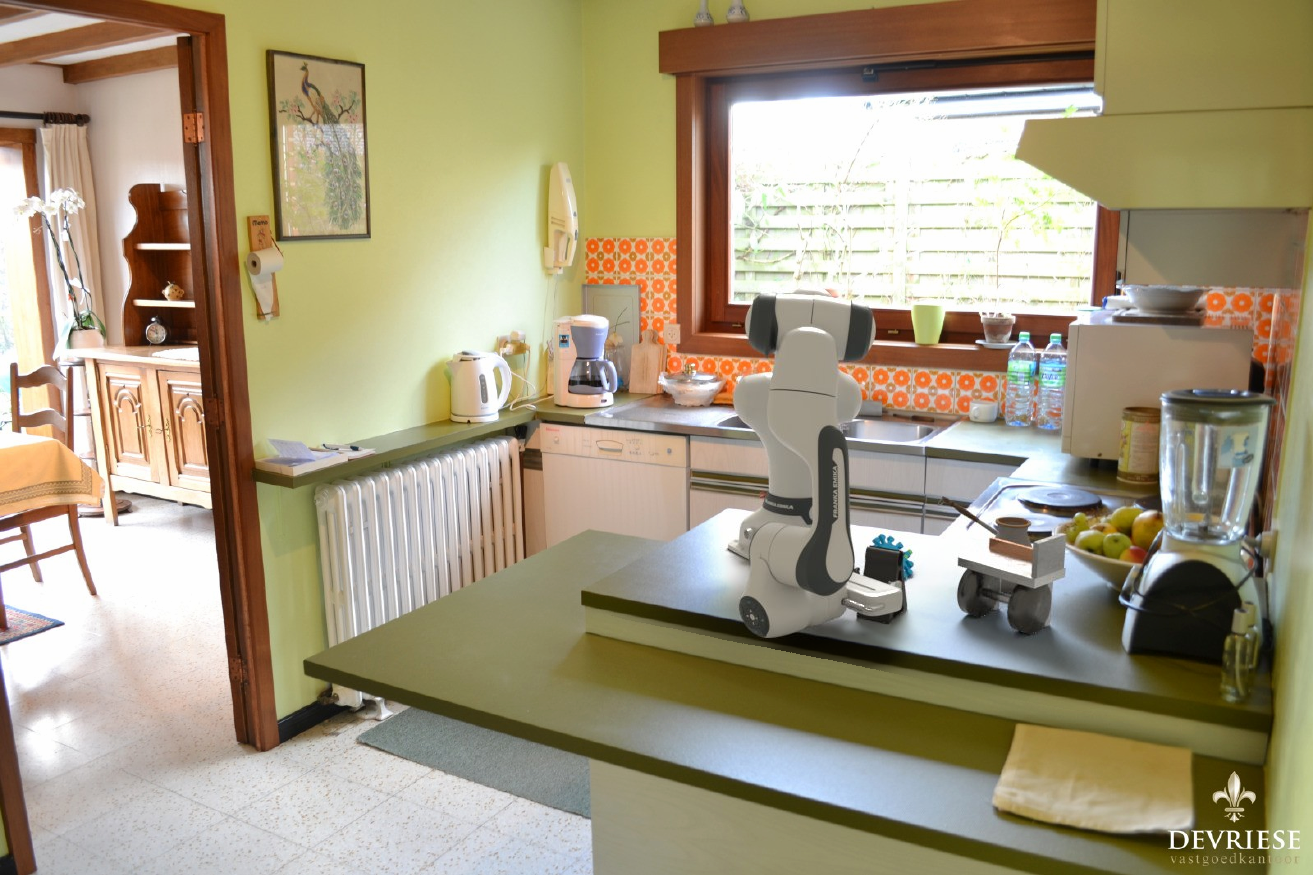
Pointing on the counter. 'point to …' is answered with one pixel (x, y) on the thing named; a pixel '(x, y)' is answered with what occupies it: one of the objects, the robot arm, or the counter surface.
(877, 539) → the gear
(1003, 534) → the coffee pot
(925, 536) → the counter surface
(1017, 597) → the trolley
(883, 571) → the phone stand
